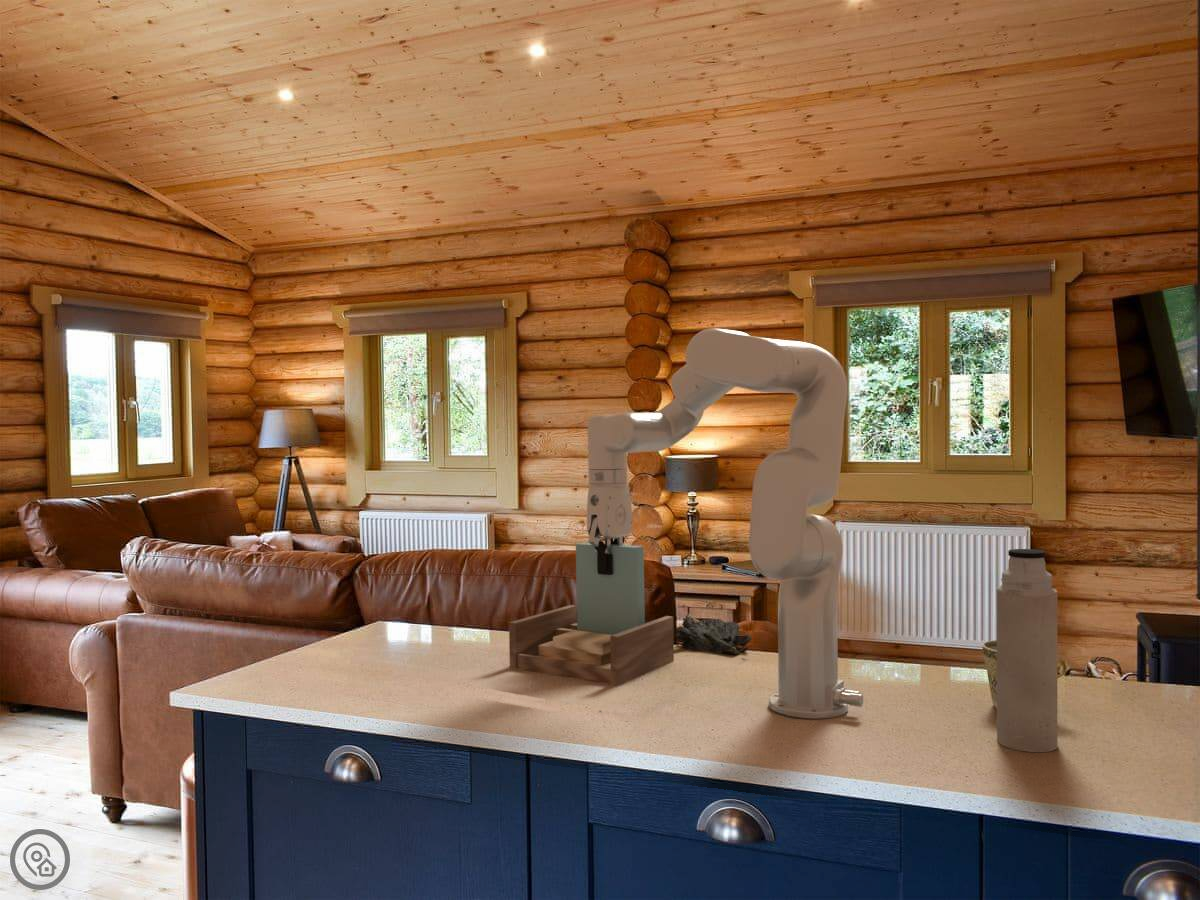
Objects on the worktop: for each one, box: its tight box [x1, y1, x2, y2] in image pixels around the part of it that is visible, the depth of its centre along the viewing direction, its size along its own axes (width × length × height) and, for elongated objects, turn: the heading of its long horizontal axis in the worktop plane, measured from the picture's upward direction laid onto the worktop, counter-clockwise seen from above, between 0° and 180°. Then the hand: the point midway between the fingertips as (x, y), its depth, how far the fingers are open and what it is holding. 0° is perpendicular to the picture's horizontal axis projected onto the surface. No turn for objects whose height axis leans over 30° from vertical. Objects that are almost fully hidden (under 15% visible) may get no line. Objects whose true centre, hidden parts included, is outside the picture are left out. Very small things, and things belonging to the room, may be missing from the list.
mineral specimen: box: [674, 612, 752, 656], centre depth 192 cm, size 15×13×10 cm
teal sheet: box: [575, 542, 646, 635], centre depth 183 cm, size 14×2×20 cm, turn 57°
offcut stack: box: [539, 630, 611, 667], centre depth 176 cm, size 16×9×6 cm, turn 57°
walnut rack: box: [508, 604, 675, 687], centre depth 179 cm, size 24×20×10 cm
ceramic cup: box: [981, 639, 1067, 709], centre depth 152 cm, size 13×10×10 cm
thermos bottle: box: [996, 548, 1059, 753], centre depth 136 cm, size 8×8×28 cm
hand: (609, 572), depth 183 cm, fingers closed on teal sheet, 2 cm apart
